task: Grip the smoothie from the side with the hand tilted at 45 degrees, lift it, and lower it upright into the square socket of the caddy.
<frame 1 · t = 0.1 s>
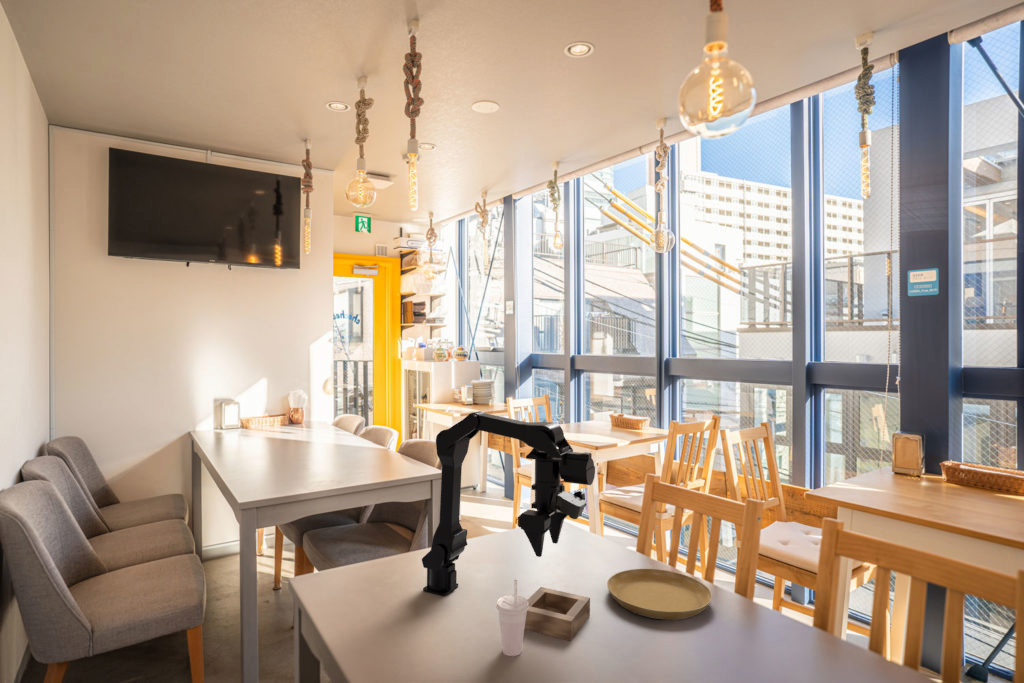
hand: (547, 549, 126), 15 cm above the table, tool pointing down, fingers open, 9 cm apart
smoothie: (512, 652, 111), on the table
plant saucer: (658, 602, 134), on the table
caddy: (554, 621, 124), on the table
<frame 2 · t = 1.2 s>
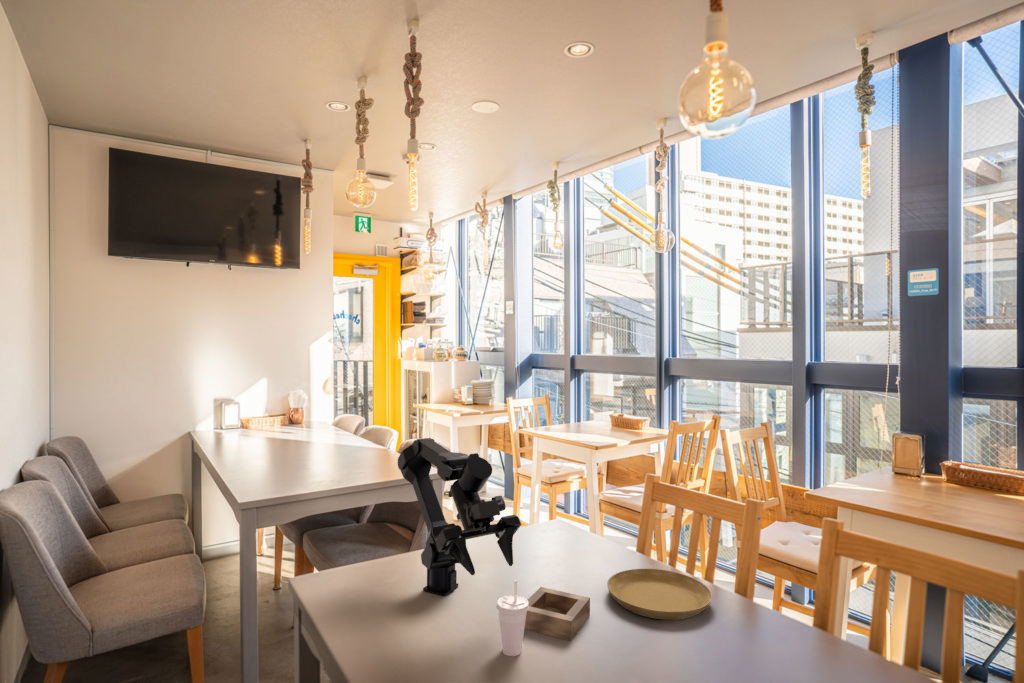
hand: (493, 569, 118), 13 cm above the table, tool tilted 45°, fingers open, 9 cm apart
nothing on the table moved.
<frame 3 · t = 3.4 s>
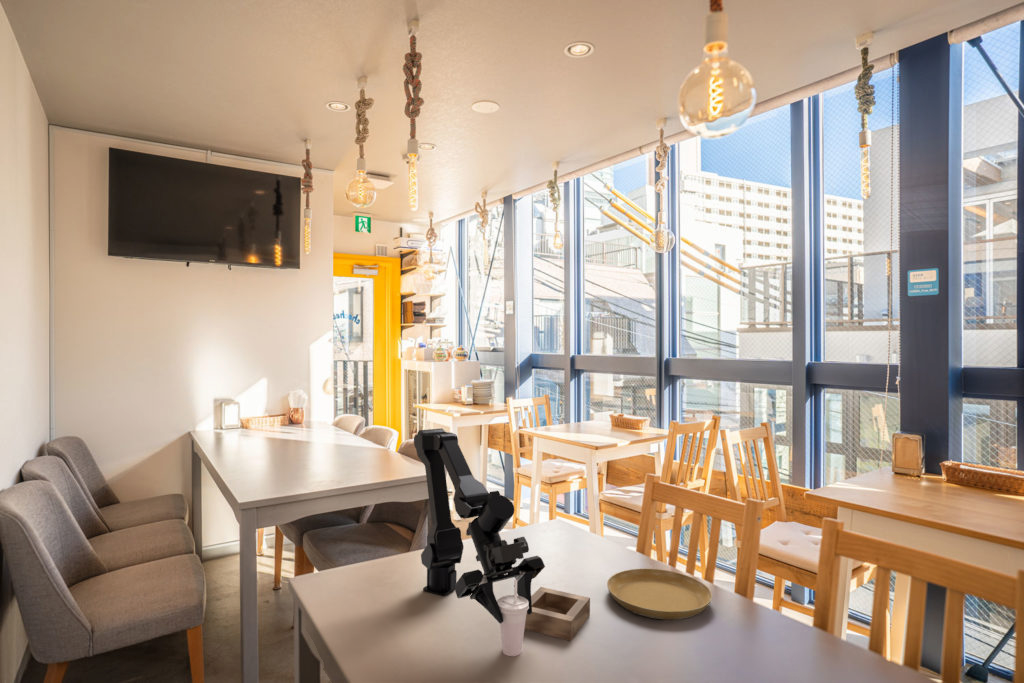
hand: (516, 618, 110), 7 cm above the table, tool tilted 45°, fingers closed on smoothie, 6 cm apart
smoothie: (512, 652, 111), on the table, touching gripper
everything else where it was.
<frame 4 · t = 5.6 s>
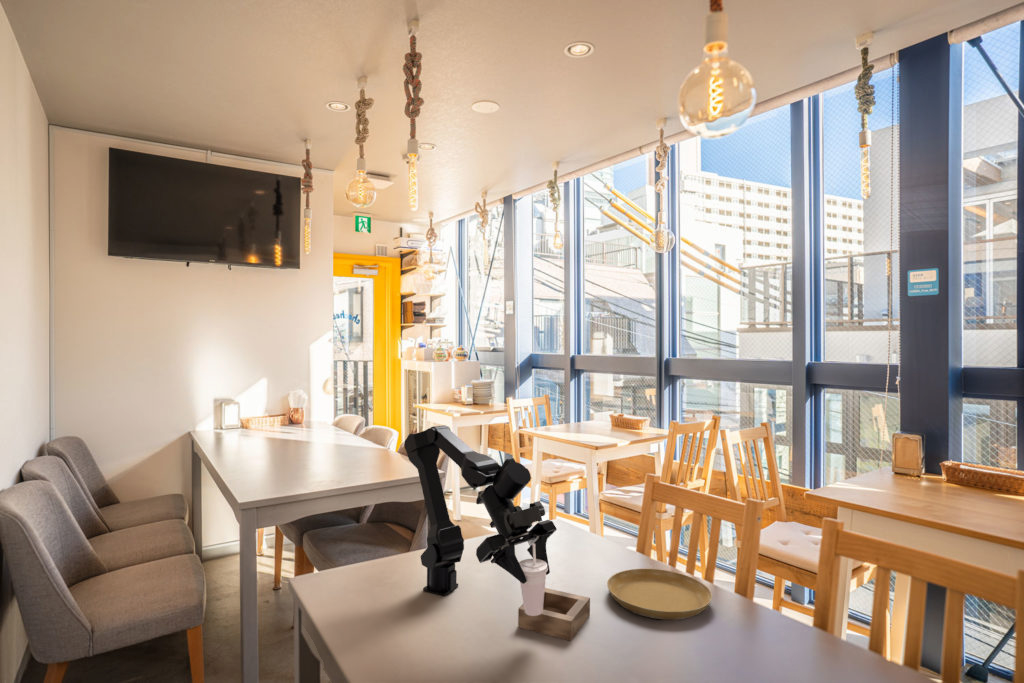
hand: (536, 578, 114), 13 cm above the table, tool tilted 45°, fingers closed on smoothie, 6 cm apart
smoothie: (533, 612, 116), point 6 cm above the table, touching gripper
everything else where it was.
when the fingers open (9 cm above the table, at t = 7.8 s): smoothie stays where it is, resting on caddy.
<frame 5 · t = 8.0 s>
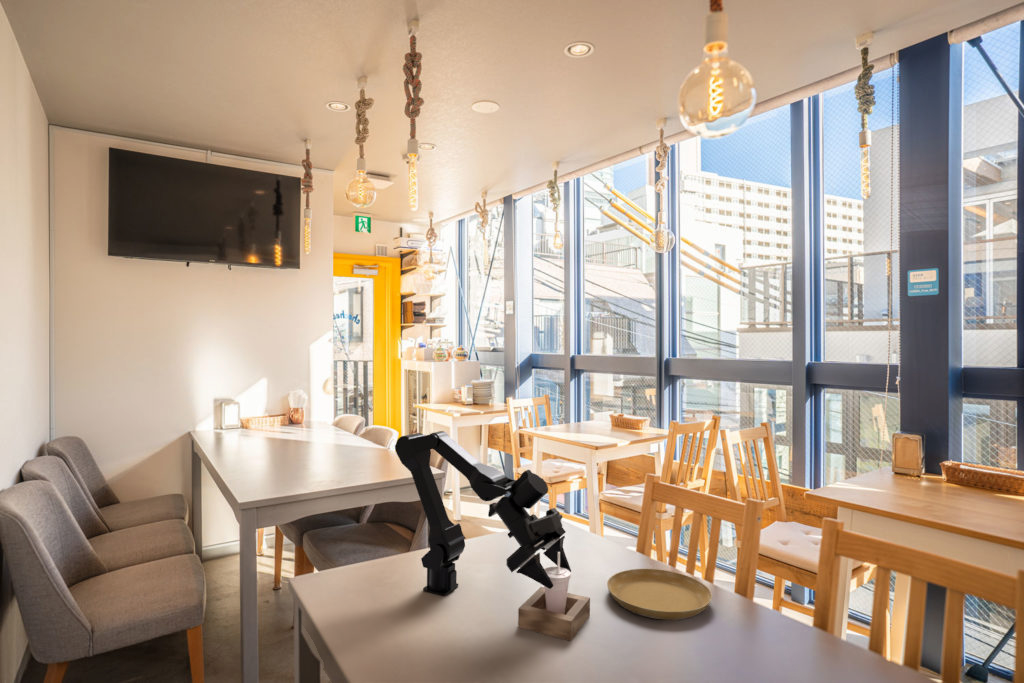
hand: (561, 579, 123), 9 cm above the table, tool tilted 45°, fingers open, 9 cm apart
smoothie: (555, 617, 124), point 1 cm above the table, touching caddy
everything else where it was.
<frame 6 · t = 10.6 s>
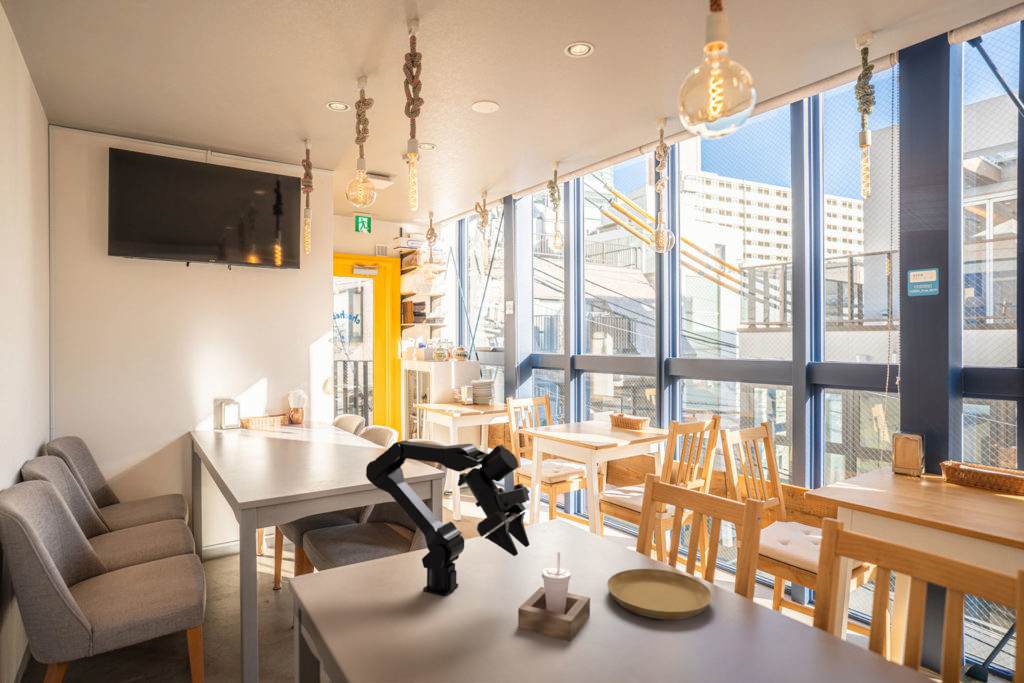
hand: (522, 550, 129), 13 cm above the table, tool tilted 40°, fingers open, 9 cm apart
nothing on the table moved.
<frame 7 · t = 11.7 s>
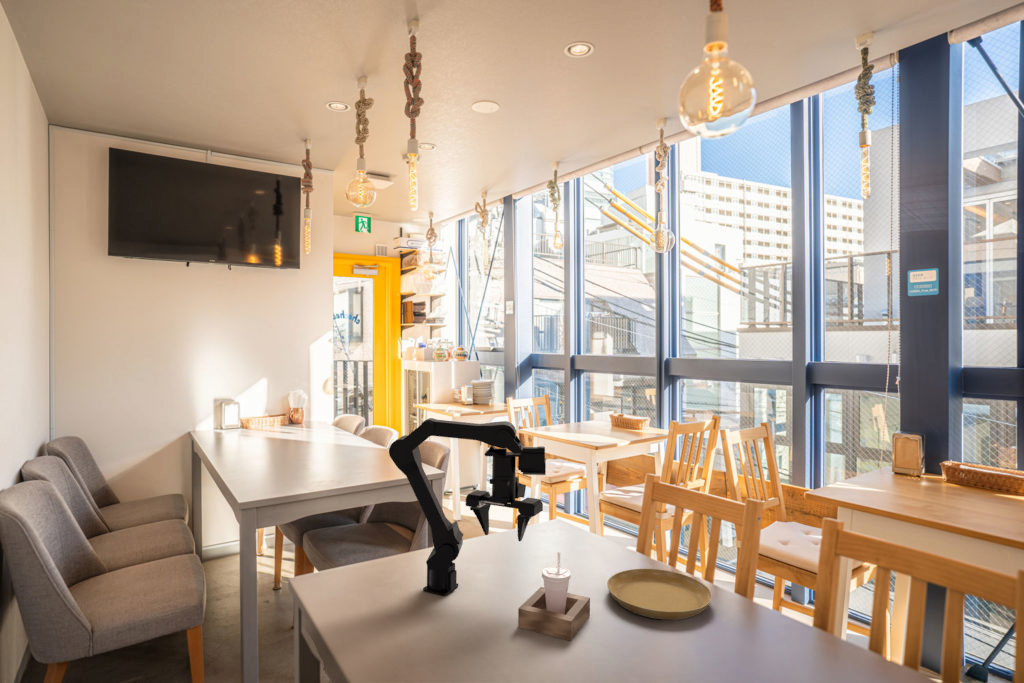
hand: (503, 537, 138), 13 cm above the table, tool pointing down, fingers open, 9 cm apart
nothing on the table moved.
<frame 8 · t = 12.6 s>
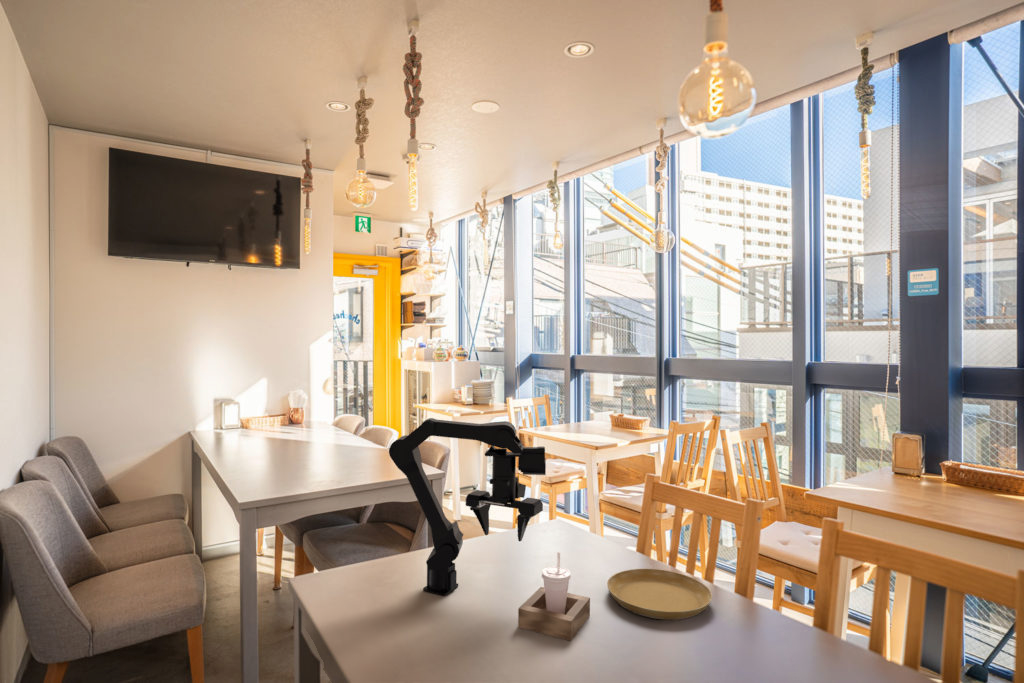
hand: (503, 537, 138), 13 cm above the table, tool pointing down, fingers open, 9 cm apart
nothing on the table moved.
at the end: smoothie 0.7 cm off-centre on the caddy, point 0.6 cm above the caddy's base; smoothie tilted 0°; the gripper is holding nothing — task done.
